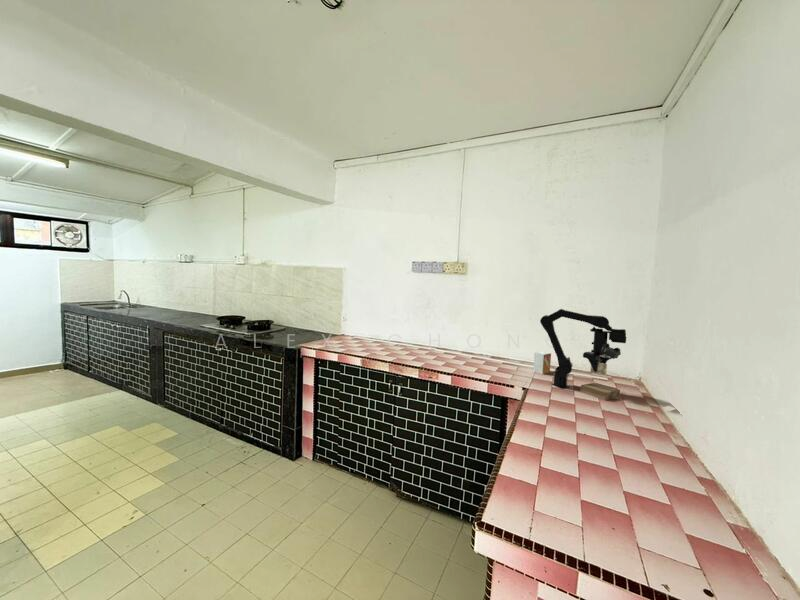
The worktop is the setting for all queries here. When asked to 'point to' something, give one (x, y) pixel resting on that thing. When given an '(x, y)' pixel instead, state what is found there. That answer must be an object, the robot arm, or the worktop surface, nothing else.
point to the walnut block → (600, 391)
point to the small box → (542, 362)
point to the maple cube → (600, 369)
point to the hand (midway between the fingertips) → (598, 371)
